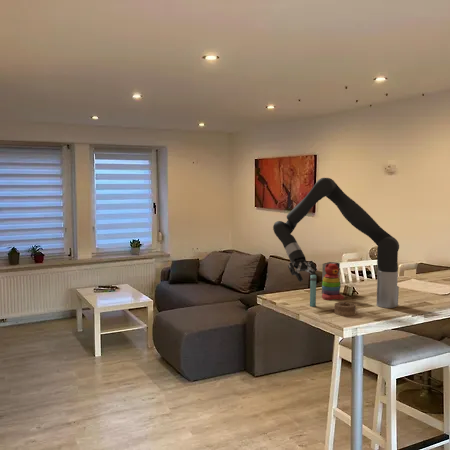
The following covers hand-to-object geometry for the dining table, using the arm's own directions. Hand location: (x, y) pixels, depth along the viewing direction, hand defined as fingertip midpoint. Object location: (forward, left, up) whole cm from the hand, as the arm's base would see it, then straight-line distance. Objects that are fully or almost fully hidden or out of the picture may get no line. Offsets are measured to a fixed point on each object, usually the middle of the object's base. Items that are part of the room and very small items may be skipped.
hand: (308, 280), depth 231 cm
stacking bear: (-19, -5, -12) cm, 23 cm away
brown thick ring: (-5, +21, -12) cm, 24 cm away
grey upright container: (-26, -14, -12) cm, 32 cm away
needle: (0, +4, -12) cm, 13 cm away
